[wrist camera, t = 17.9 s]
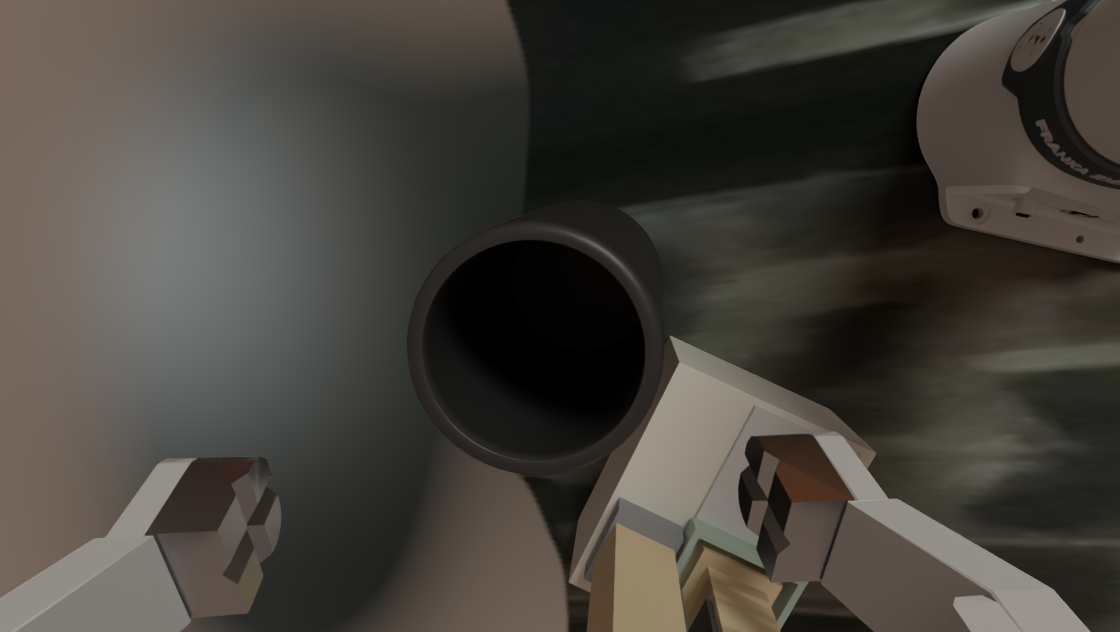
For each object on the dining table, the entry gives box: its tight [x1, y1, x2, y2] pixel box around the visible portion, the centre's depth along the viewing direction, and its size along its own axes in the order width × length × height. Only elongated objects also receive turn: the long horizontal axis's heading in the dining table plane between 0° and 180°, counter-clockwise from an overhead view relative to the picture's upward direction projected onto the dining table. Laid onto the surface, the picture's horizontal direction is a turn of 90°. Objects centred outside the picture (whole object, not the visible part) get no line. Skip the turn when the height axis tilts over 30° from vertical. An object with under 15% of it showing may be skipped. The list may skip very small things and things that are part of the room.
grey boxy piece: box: [569, 335, 876, 632], centre depth 43 cm, size 15×19×24 cm
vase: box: [407, 200, 665, 475], centre depth 39 cm, size 14×14×29 cm
